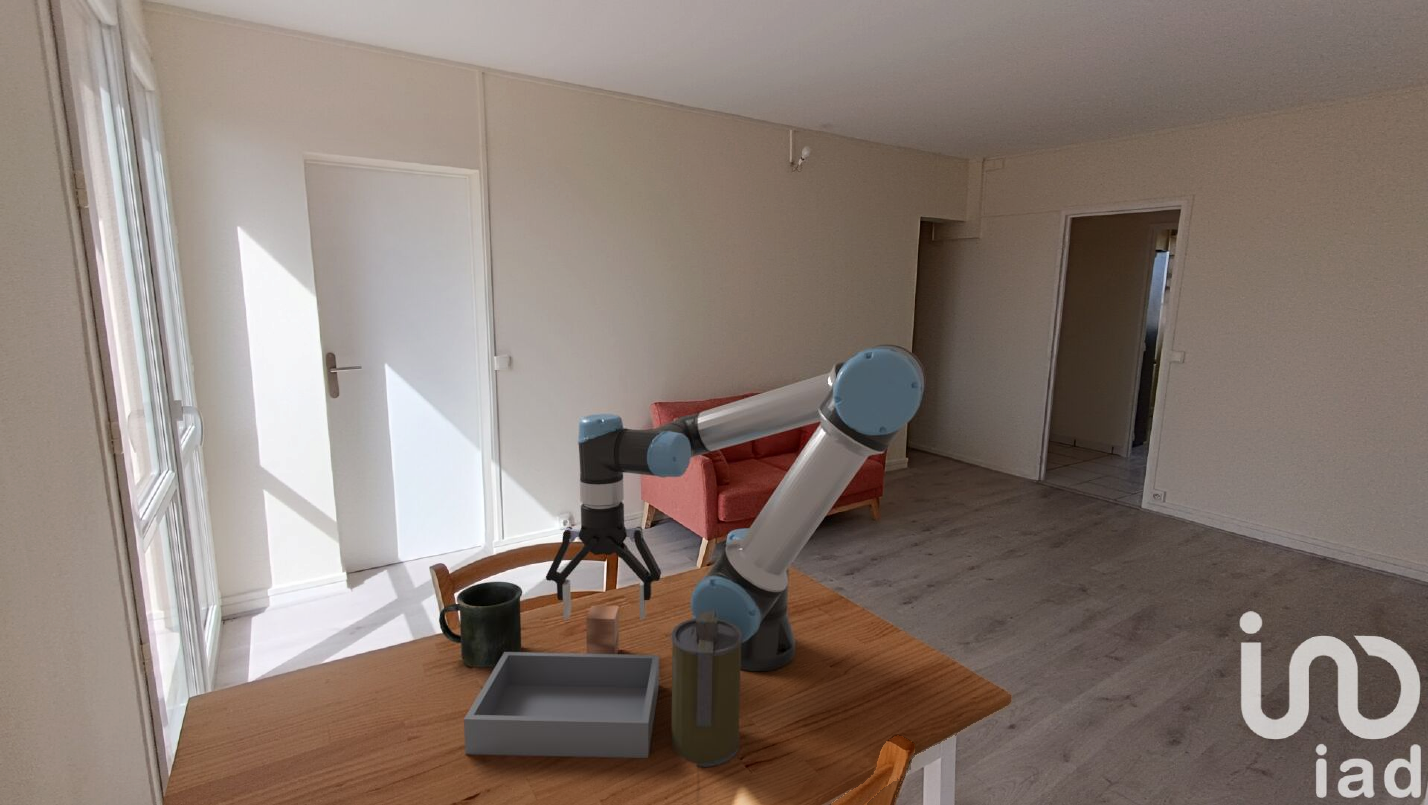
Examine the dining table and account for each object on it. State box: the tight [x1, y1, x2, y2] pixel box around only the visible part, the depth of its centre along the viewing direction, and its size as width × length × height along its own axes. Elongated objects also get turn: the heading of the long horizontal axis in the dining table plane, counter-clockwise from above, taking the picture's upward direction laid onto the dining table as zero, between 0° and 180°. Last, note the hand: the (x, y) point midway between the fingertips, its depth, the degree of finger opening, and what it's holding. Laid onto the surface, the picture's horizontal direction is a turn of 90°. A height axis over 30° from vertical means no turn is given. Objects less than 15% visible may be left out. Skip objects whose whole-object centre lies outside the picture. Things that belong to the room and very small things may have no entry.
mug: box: [438, 581, 523, 668], centre depth 120 cm, size 11×15×12 cm
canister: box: [670, 610, 743, 768], centre depth 96 cm, size 11×10×20 cm
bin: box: [463, 651, 660, 759], centre depth 102 cm, size 26×18×6 cm
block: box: [585, 605, 620, 654], centre depth 120 cm, size 5×5×9 cm
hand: (605, 616), depth 119 cm, fingers open, 13 cm apart
